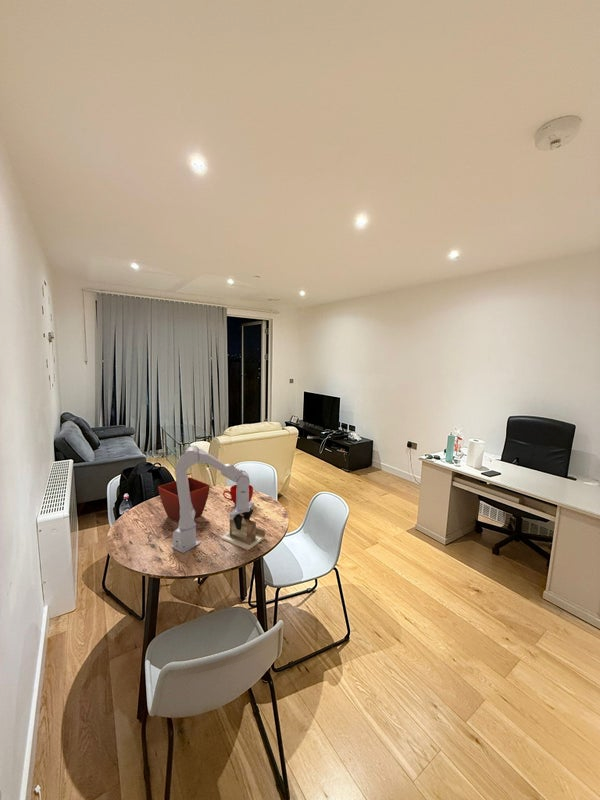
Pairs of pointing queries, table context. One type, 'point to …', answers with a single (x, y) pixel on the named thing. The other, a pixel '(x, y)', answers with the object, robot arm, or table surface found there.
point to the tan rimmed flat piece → (259, 537)
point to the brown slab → (244, 530)
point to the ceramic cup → (233, 493)
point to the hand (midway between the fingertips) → (242, 526)
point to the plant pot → (171, 498)
